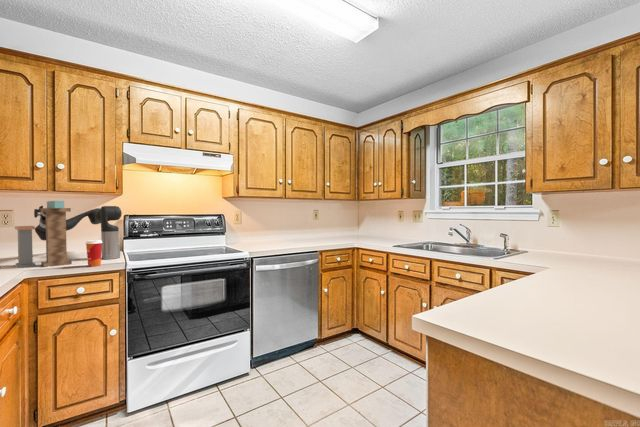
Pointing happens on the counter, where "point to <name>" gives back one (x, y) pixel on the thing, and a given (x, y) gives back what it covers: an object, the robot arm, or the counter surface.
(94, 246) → the paper cup
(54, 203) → the bar
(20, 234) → the ledge
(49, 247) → the stand
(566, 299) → the counter surface
